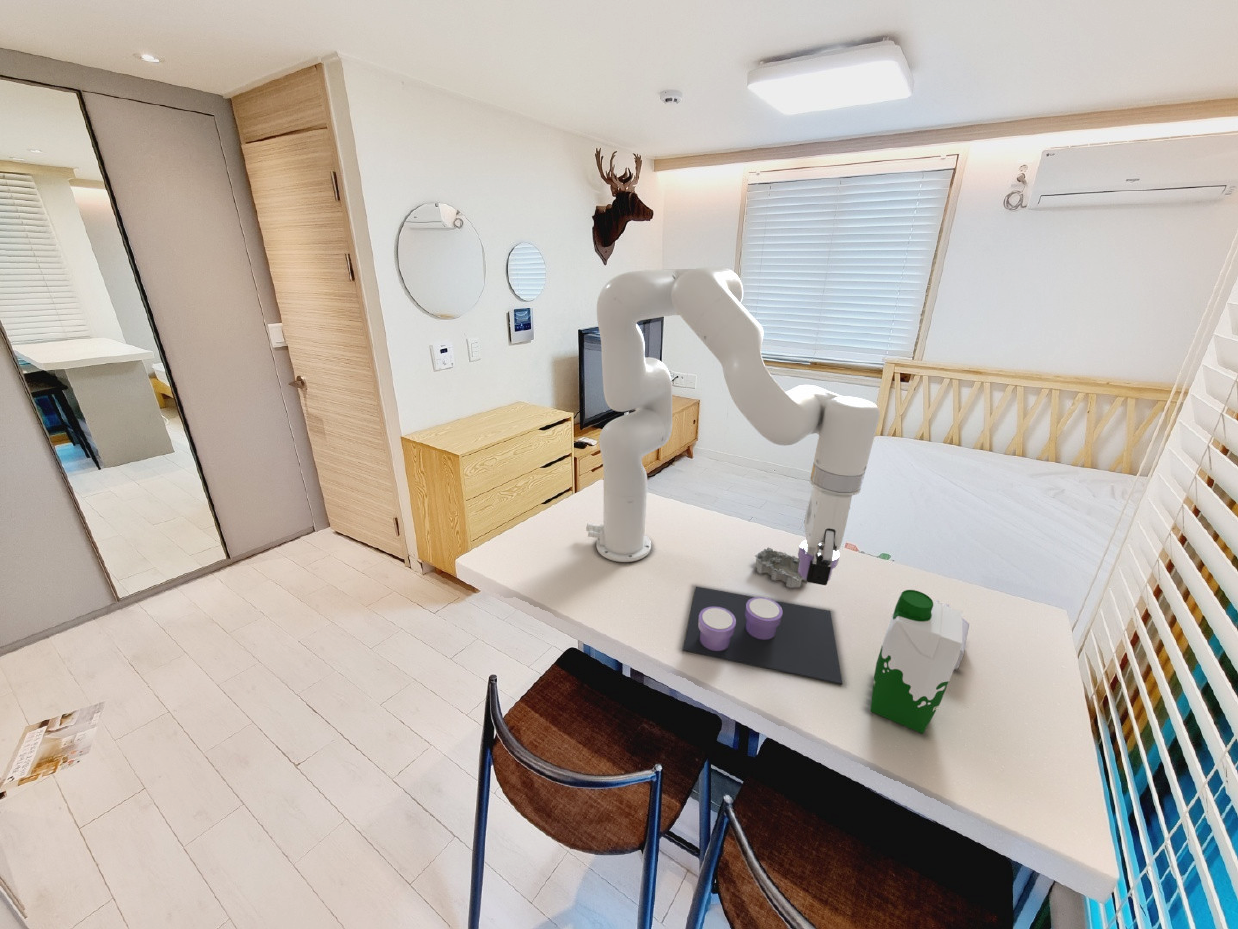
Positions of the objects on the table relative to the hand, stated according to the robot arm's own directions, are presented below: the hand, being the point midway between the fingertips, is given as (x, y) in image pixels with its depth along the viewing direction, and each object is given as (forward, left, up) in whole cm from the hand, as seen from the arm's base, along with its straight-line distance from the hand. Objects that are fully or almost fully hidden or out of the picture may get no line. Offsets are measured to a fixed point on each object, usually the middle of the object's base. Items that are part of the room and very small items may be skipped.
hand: (814, 569), depth 86 cm
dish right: (0, 0, -1) cm, 1 cm away
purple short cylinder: (-15, -7, -14) cm, 22 cm away
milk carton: (+14, -12, -14) cm, 23 cm away
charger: (+23, +6, -14) cm, 28 cm away
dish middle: (-7, -1, -14) cm, 16 cm away
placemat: (-7, -1, -14) cm, 16 cm away
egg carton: (-3, +17, -14) cm, 23 cm away
